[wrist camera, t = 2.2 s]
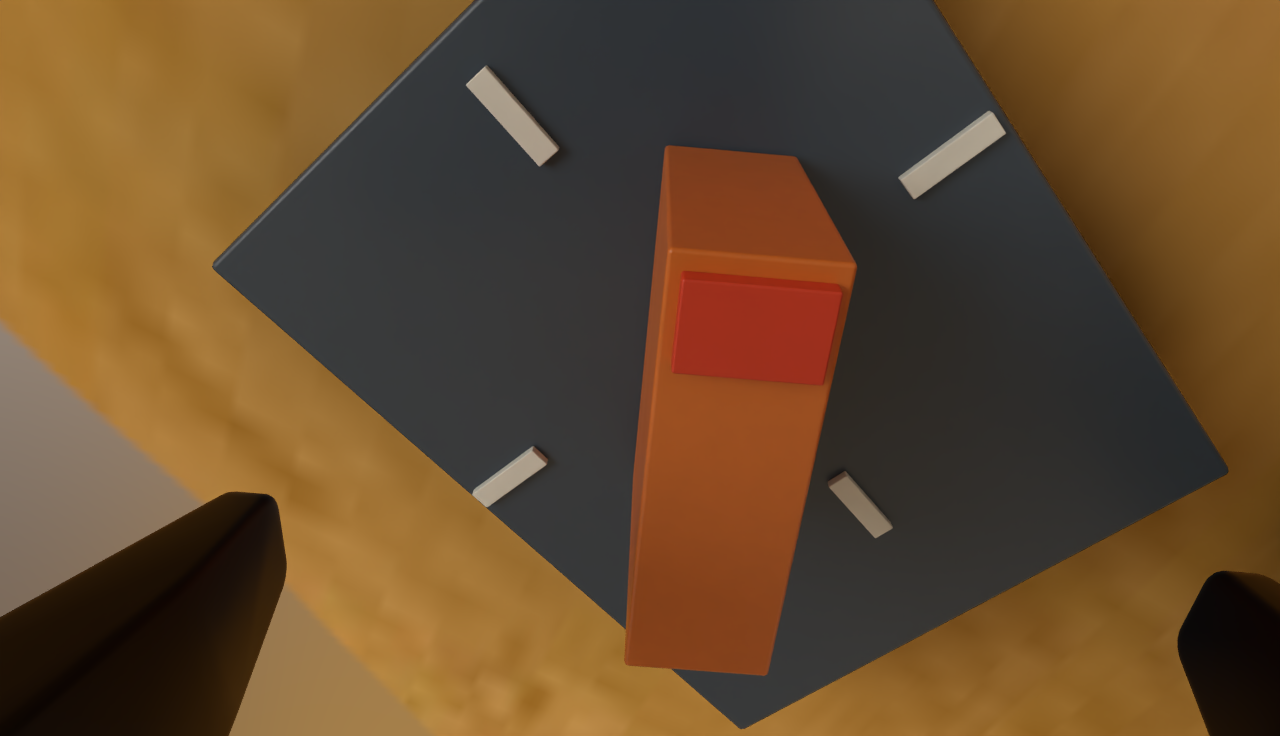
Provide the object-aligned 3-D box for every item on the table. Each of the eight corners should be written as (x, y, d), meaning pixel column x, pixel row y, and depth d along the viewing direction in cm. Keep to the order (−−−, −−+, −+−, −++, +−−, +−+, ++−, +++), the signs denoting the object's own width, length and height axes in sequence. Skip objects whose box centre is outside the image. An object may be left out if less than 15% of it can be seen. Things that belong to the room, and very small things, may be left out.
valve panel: (1140, 382, 16) (1238, 478, 14) (730, 622, 20) (741, 739, 17) (734, -240, 12) (758, -286, 9) (286, 205, 15) (201, 271, 12)
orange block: (741, 485, 14) (770, 693, 10) (633, 476, 14) (622, 682, 10) (797, 155, 11) (865, 274, 8) (664, 143, 11) (667, 257, 8)
